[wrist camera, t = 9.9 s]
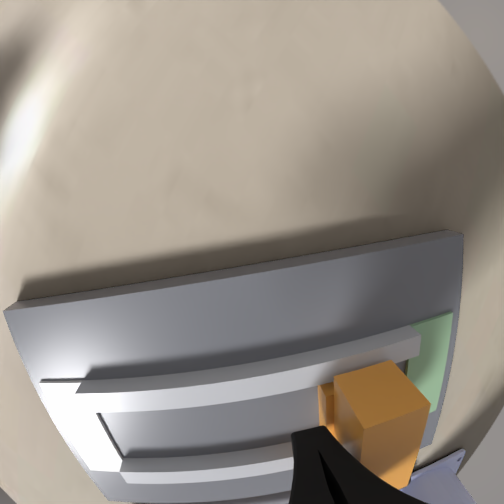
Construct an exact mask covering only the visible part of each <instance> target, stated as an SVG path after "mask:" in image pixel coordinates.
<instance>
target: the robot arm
mask: <svg viewBox="0 0 504 504" xmlns="http://www.w3.org/2000/svg"><path fill="white" fill-rule="evenodd" d="M291 443H292V451H293V459H294V467H293V480H292V487H291V494H290V499H289V504H477V503H476V502H475V500H474V499H473V498H472V496H471V495H470V494H469V492H468V491H467V489H466V488H465V487H464V485H463V484H462V483H461V481H460V480H459V479H458V477H457V476H456V475H455V474H456V472H457V470H458V468H459V466H460V464H461V462H462V459H463V457H464V455H465V452H466V451H465V450H464V449H460V450H458V451H456V452H454V453H452V454H451V455H449V456H447V457H445V458H443V459H441V460H439V461H437V462H435V463H433V464H431V465H429V466H427V467H424V468H422V469H420V470H418V471H416V472H413V473H412V474H411V482H410V484H409V485H408V486H407V487H405V488H402V489H400V490H398V489H397V488H395V487H393V486H391V485H390V484H388V483H387V482H385V481H384V480H382V479H381V478H379V477H378V476H376V475H375V474H374V473H372V472H371V471H370V470H368V469H367V468H366V467H365V466H364V465H362V464H361V463H360V462H359V461H358V460H357V459H356V458H354V457H353V456H352V455H351V454H350V453H349V452H348V451H347V450H346V449H345V448H344V447H343V446H342V445H341V444H340V443H339V442H338V441H337V439H336V438H335V437H334V436H333V435H332V434H331V432H330V431H329V430H328V429H327V427H326V426H324V425H322V426H318V427H314V428H310V429H306V430H301V431H297V432H293V433H292V434H291Z"/></svg>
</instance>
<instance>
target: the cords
mask: <svg viewBox="0 0 504 504" xmlns="http://www.w3.org/2000/svg"><path fill="white" fill-rule="evenodd" d="M410 482H411V476H410V479H409V482H408V485H409V484H410ZM408 485H407V486H408ZM407 486H406V487H407ZM403 488H405V487H403ZM401 489H402V488H401ZM399 490H400V489H399ZM290 494H291V490H289V491H284V492H279V493H274V494H268V495H262V496H255V497H248V498H240V499H232V500H222V501H210V502H193V503H150V504H289V499H290Z"/></svg>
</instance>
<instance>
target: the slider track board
mask: <svg viewBox="0 0 504 504" xmlns="http://www.w3.org/2000/svg"><path fill="white" fill-rule="evenodd" d="M462 270H463V234H461V233H458V232H454V231H450V230H443V231H437V232H432V233H427V234H421V235H416V236H411V237H405V238H400V239H394V240H389V241H383V242H378V243H372V244H367V245H361V246H355V247H350V248H344V249H339V250H333V251H327V252H322V253H316V254H310V255H304V256H299V257H293V258H287V259H281V260H275V261H270V262H264V263H258V264H252V265H246V266H240V267H234V268H228V269H222V270H216V271H210V272H204V273H198V274H192V275H186V276H179V277H173V278H167V279H161V280H155V281H148V282H142V283H136V284H129V285H123V286H117V287H110V288H104V289H97V290H91V291H84V292H78V293H71V294H64V295H58V296H51V297H44V298H38V299H31V300H24V301H17V302H15V303H14V304H12V305H11V306H9V307H8V308H7V309H5V310H4V311H3V313H4V316H5V319H6V322H7V324H8V327H9V330H10V332H11V335H12V337H13V340H14V342H15V345H16V347H17V350H18V352H19V354H20V357H21V359H22V361H23V364H24V366H25V368H26V370H27V372H28V374H29V377H30V379H31V381H32V383H33V385H34V387H35V389H36V391H37V393H38V395H39V397H40V399H41V400H42V402H43V404H44V406H45V408H46V410H47V411H48V413H49V415H50V417H51V419H52V420H53V422H54V424H55V425H56V427H57V429H58V430H59V432H60V434H61V435H62V437H63V439H64V440H65V442H66V443H67V445H68V446H69V448H70V449H71V451H72V452H73V454H74V455H75V457H76V458H77V460H78V461H79V463H80V464H81V466H82V467H83V468H84V470H85V471H86V472H87V474H88V475H89V477H90V478H91V479H92V481H93V482H94V483H95V484H96V486H97V487H98V488H99V490H100V491H101V492H102V493H103V495H104V496H105V497H106V498H107V500H108V501H120V502H136V503H193V502H210V501H222V500H232V499H240V498H248V497H255V496H262V495H268V494H274V493H279V492H284V491H289V490H291V487H292V480H293V467H294V459H293V451H292V443H291V434H292V433H293V432H297V431H301V430H306V429H310V428H314V427H318V426H319V402H318V385H322V384H326V383H330V382H334V376H336V375H340V374H344V373H348V372H351V371H355V370H359V369H362V368H366V367H369V366H372V365H376V364H379V363H382V362H385V361H389V360H392V361H393V362H394V363H395V364H396V365H397V366H398V367H399V369H400V370H401V371H402V372H403V373H404V374H405V375H406V376H407V377H408V378H409V380H410V381H411V382H412V383H413V384H414V385H415V386H416V387H417V388H418V390H419V391H420V392H421V393H422V394H423V395H424V396H425V397H426V398H427V400H428V401H429V402H430V403H431V406H430V411H429V415H428V419H427V423H426V427H425V431H424V434H423V438H422V442H421V445H420V448H419V449H421V448H423V447H425V446H428V445H430V444H432V440H433V437H434V434H435V431H436V427H437V424H438V420H439V416H440V413H441V409H442V405H443V401H444V397H445V393H446V388H447V384H448V379H449V374H450V369H451V364H452V358H453V353H454V347H455V340H456V333H457V326H458V318H459V309H460V299H461V286H462Z"/></svg>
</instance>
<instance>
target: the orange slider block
mask: <svg viewBox="0 0 504 504" xmlns="http://www.w3.org/2000/svg"><path fill="white" fill-rule="evenodd" d="M318 402H319V426H322V425H324V426H326V427H327V429H328V430H329V431H330V432H331V434H332V435H333V436H334V437H335V438H336V439H337V441H338V442H339V443H340V444H341V445H342V446H343V447H344V448H345V449H346V450H347V451H348V452H349V453H350V454H351V455H352V456H353V457H354V458H356V459H357V460H358V461H359V462H360V463H361V464H362V465H364V466H365V467H366V468H367V469H368V470H370V471H371V472H372V473H374V474H375V475H376V476H378V477H379V478H381V479H382V480H384V481H385V482H387V483H388V484H390V485H391V486H393V487H395V488H397V489H398V490H399V489H401V488H403V487H406V486H407V485H408V482H409V479H410V476H411V474H412V471H413V468H414V465H415V461H416V458H417V455H418V452H419V448H420V445H421V442H422V438H423V434H424V431H425V427H426V423H427V419H428V415H429V411H430V406H431V403H430V402H429V401H428V400H427V398H426V397H425V396H424V395H423V394H422V393H421V392H420V391H419V390H418V388H417V387H416V386H415V385H414V384H413V383H412V382H411V381H410V380H409V378H408V377H407V376H406V375H405V374H404V373H403V372H402V371H401V370H400V369H399V367H398V366H397V365H396V364H395V363H394V362H393V361H392V360H389V361H385V362H382V363H379V364H376V365H372V366H369V367H366V368H362V369H359V370H355V371H351V372H348V373H344V374H340V375H336V376H334V382H330V383H326V384H322V385H318Z"/></svg>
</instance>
